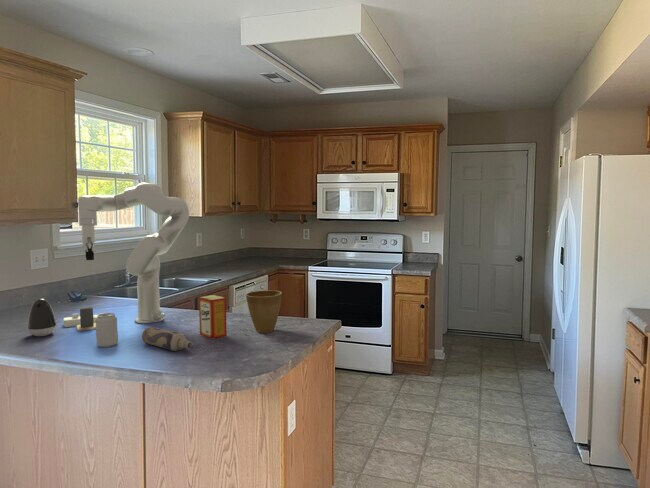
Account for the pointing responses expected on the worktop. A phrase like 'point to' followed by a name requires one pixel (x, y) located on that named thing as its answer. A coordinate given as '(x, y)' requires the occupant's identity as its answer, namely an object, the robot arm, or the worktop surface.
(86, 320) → the charger
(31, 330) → the dark egg-shaped diffuser
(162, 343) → the decorative bottle
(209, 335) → the baking soda box
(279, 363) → the worktop surface
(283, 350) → the worktop surface
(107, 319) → the can
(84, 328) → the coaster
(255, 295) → the plant pot
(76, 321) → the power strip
